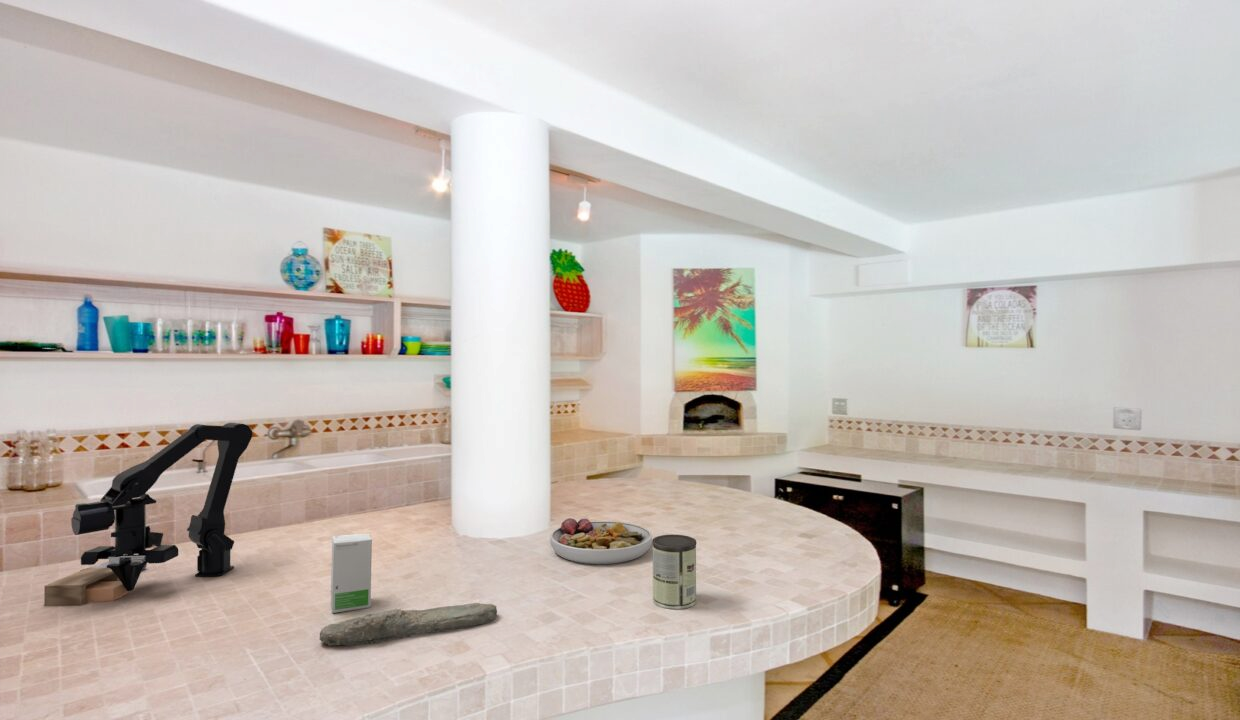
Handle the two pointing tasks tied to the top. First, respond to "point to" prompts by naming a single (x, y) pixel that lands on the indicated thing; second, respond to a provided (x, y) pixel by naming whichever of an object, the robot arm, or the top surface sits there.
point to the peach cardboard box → (105, 591)
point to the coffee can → (674, 571)
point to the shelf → (75, 586)
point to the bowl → (600, 541)
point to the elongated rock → (405, 623)
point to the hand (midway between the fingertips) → (130, 590)
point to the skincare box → (351, 572)
